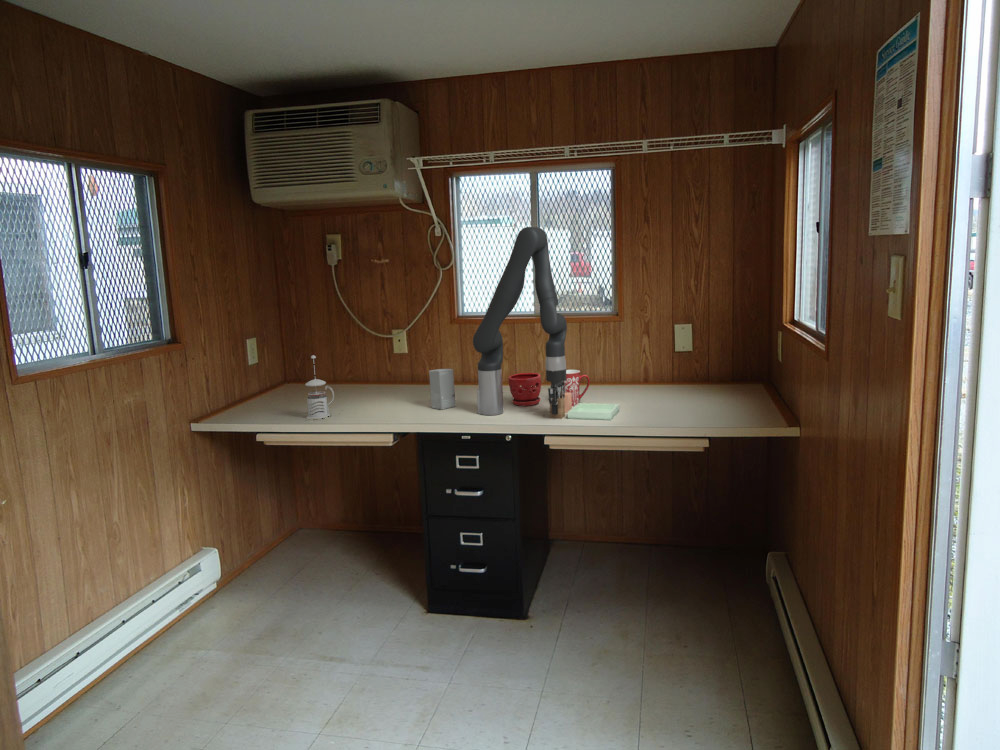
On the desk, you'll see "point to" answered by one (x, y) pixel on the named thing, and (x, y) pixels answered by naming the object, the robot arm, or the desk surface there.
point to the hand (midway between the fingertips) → (557, 412)
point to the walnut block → (560, 409)
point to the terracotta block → (568, 402)
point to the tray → (593, 411)
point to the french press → (314, 399)
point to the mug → (574, 385)
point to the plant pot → (525, 388)
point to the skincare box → (442, 388)
